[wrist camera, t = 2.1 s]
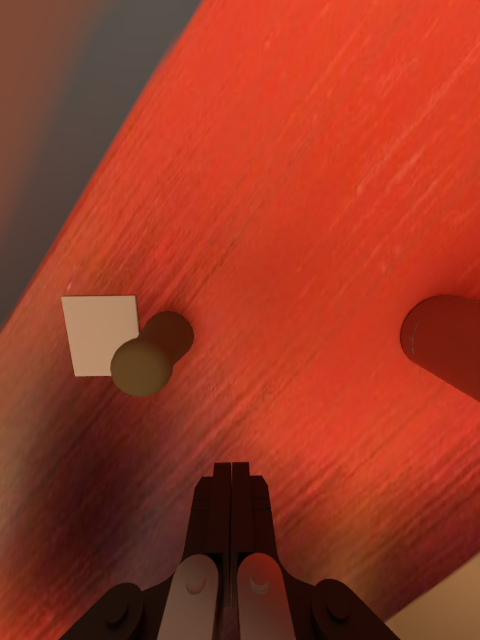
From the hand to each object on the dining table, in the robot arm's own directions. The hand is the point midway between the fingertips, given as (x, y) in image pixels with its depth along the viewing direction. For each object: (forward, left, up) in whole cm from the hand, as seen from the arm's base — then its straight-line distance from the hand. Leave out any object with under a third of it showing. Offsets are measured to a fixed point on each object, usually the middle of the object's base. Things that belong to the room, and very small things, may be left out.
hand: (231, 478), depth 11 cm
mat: (+16, 0, -21) cm, 27 cm away
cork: (+8, 0, -22) cm, 23 cm away
